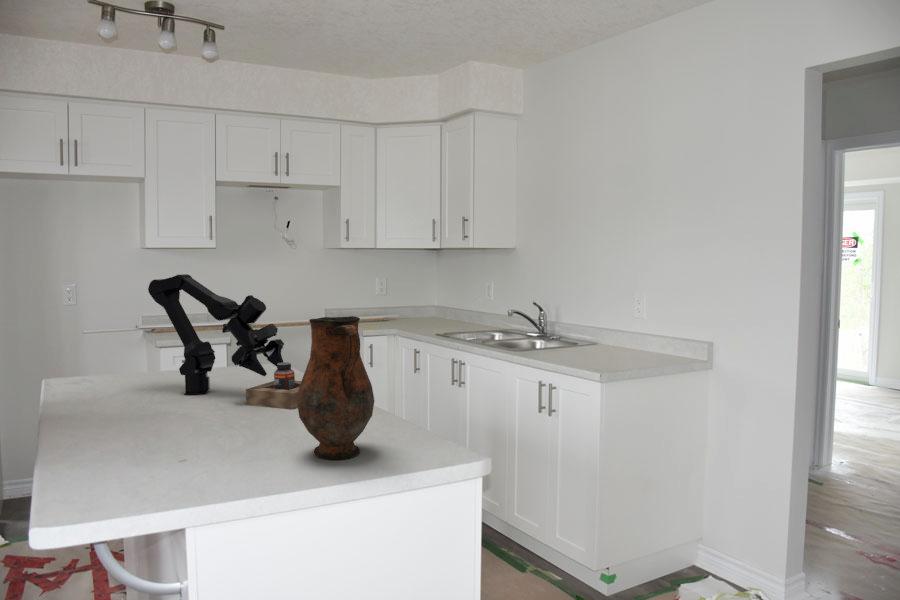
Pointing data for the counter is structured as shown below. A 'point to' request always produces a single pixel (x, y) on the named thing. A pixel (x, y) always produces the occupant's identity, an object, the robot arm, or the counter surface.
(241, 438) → the counter surface
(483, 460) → the counter surface
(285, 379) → the supplement bottle
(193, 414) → the counter surface
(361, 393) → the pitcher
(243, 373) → the counter surface
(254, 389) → the walnut well
